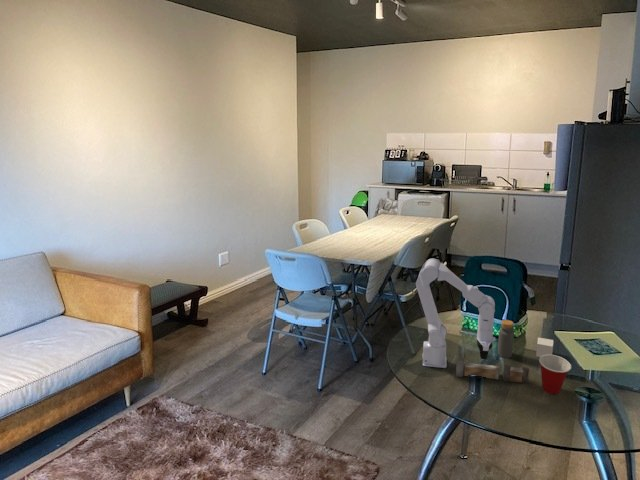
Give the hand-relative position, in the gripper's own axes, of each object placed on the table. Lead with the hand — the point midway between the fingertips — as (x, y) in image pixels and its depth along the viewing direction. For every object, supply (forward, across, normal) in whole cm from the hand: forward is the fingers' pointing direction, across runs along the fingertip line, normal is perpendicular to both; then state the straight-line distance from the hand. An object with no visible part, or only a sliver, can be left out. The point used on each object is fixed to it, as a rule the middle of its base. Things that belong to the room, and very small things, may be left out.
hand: (483, 358), depth 197 cm
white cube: (+6, +17, -26) cm, 31 cm away
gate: (+5, -6, +1) cm, 8 cm away
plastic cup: (+6, -10, -24) cm, 26 cm away
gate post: (+5, -6, +9) cm, 12 cm away
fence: (+5, -6, -11) cm, 14 cm away
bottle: (+5, +14, -10) cm, 18 cm away
